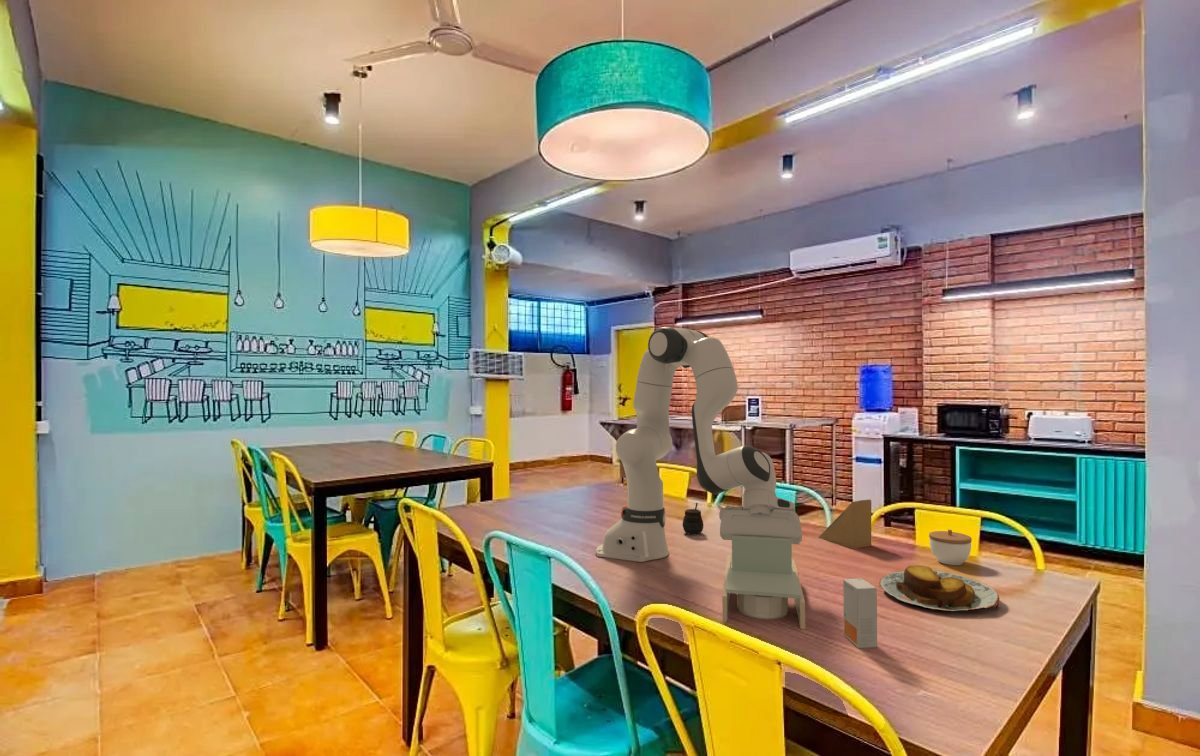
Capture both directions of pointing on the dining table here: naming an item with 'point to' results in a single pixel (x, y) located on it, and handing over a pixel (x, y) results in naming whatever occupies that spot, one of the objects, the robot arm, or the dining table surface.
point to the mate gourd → (693, 521)
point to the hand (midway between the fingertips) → (760, 555)
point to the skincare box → (860, 612)
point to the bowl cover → (762, 567)
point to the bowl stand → (763, 602)
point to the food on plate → (938, 589)
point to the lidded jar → (950, 546)
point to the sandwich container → (851, 526)
